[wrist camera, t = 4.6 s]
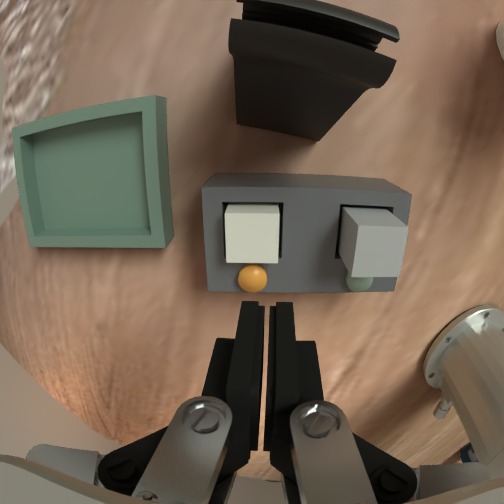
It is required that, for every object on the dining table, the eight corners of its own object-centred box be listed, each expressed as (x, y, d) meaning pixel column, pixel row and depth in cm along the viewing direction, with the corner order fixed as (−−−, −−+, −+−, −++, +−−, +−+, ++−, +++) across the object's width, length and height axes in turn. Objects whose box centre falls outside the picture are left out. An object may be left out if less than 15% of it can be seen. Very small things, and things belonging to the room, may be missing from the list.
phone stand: (260, 13, 17) (257, -76, 6) (340, 32, 17) (407, -35, 6) (236, 124, 21) (206, 124, 10) (317, 141, 21) (375, 162, 10)
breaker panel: (373, 261, 25) (396, 295, 19) (217, 259, 25) (206, 296, 20) (383, 179, 22) (415, 196, 17) (214, 173, 22) (199, 189, 17)
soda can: (471, 451, 43) (486, 490, 32) (452, 455, 42) (467, 497, 31) (490, 433, 40) (508, 473, 29) (473, 437, 39) (491, 480, 28)
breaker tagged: (275, 240, 21) (277, 263, 18) (231, 240, 21) (226, 262, 18) (276, 198, 20) (279, 213, 17) (230, 197, 20) (224, 213, 17)
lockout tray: (174, 236, 24) (165, 248, 22) (43, 237, 25) (29, 247, 22) (166, 97, 20) (155, 95, 18) (28, 125, 20) (12, 128, 18)
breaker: (379, 252, 19) (399, 276, 16) (337, 251, 19) (351, 277, 16) (386, 209, 18) (408, 227, 15) (342, 206, 18) (358, 225, 15)
